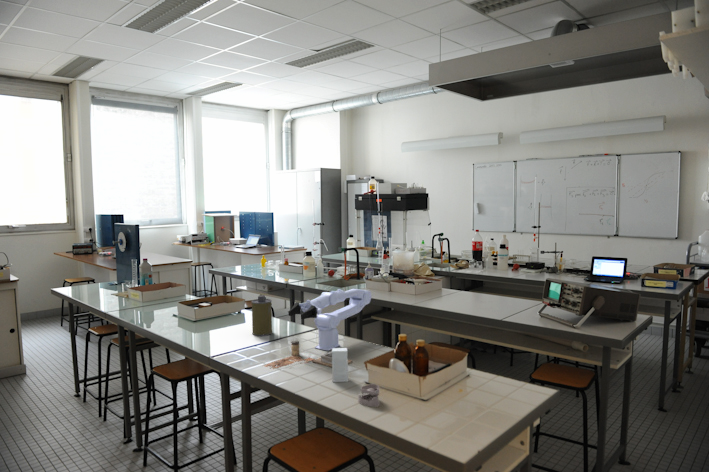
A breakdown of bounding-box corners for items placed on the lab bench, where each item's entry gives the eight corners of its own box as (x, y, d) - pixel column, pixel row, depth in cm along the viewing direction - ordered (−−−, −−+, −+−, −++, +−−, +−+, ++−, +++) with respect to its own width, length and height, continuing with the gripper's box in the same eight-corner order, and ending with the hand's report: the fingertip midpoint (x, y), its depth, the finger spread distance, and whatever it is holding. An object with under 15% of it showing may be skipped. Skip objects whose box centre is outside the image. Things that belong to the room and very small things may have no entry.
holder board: (327, 356, 209) (327, 349, 208) (352, 361, 201) (352, 354, 200) (312, 362, 201) (312, 355, 200) (338, 368, 192) (338, 361, 192)
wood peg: (295, 353, 213) (294, 340, 213) (301, 354, 211) (300, 341, 211) (289, 355, 210) (289, 342, 210) (295, 356, 208) (295, 343, 208)
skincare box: (347, 377, 182) (347, 347, 181) (348, 381, 178) (347, 351, 177) (332, 378, 182) (331, 347, 181) (332, 382, 178) (331, 351, 177)
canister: (270, 336, 242) (269, 297, 240) (250, 336, 242) (249, 297, 241) (274, 330, 253) (273, 293, 251) (255, 330, 253) (254, 293, 251)
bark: (297, 354, 212) (297, 353, 212) (315, 359, 204) (315, 358, 204) (258, 368, 196) (258, 366, 195) (276, 374, 188) (276, 373, 188)
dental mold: (386, 402, 160) (386, 387, 159) (373, 408, 155) (373, 394, 154) (368, 396, 165) (368, 382, 165) (355, 402, 160) (355, 388, 160)
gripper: (303, 294, 218) (282, 303, 207) (327, 299, 209) (306, 309, 199) (305, 308, 219) (284, 318, 209) (328, 313, 211) (308, 325, 200)
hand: (295, 315), depth 204 cm, fingers open, 7 cm apart
